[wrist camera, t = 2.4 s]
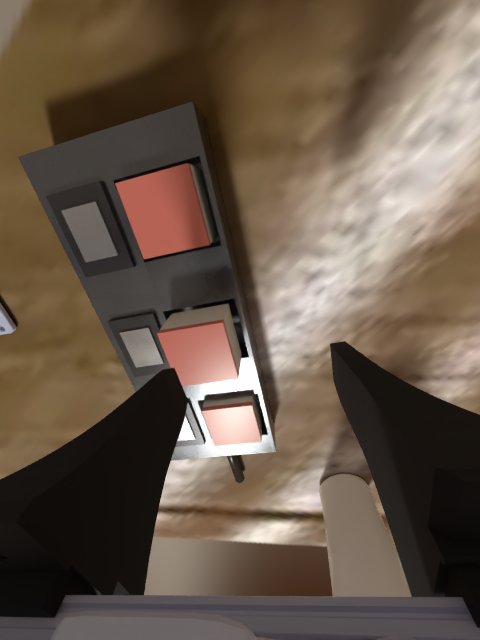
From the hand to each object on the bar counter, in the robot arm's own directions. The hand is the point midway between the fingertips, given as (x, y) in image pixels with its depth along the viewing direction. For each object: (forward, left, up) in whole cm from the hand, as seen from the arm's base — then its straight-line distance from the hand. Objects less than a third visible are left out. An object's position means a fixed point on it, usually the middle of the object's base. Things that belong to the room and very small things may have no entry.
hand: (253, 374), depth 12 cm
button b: (-4, -1, -6) cm, 7 cm away
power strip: (-6, -4, -9) cm, 11 cm away
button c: (-4, +7, -8) cm, 11 cm away
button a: (-4, -9, -8) cm, 12 cm away
